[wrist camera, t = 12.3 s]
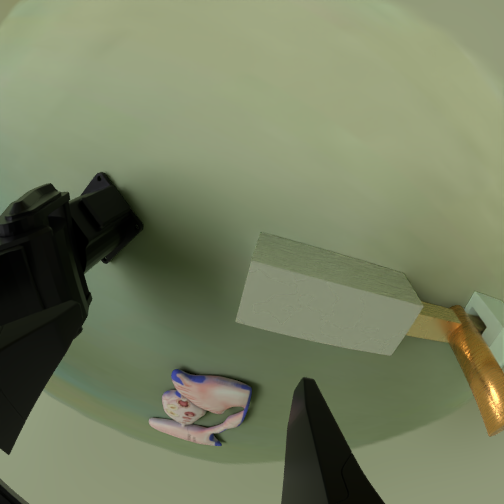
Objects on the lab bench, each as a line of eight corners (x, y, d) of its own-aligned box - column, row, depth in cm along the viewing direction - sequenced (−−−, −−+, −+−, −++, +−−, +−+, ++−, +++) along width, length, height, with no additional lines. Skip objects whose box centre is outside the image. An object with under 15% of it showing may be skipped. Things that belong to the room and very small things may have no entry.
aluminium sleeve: (246, 285, 23) (235, 321, 19) (260, 231, 21) (251, 260, 16) (378, 318, 23) (390, 355, 18) (403, 273, 20) (423, 306, 16)
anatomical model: (153, 418, 39) (237, 441, 38) (147, 431, 36) (234, 455, 35) (134, 344, 29) (256, 377, 28) (123, 360, 27) (252, 397, 26)
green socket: (445, 336, 23) (465, 376, 17) (474, 291, 20) (503, 327, 14) (474, 341, 22) (493, 377, 17) (501, 300, 20) (527, 333, 14)
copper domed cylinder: (330, 304, 21) (346, 454, 10) (344, 273, 20) (380, 426, 8) (479, 336, 21) (524, 425, 9) (493, 315, 20) (546, 402, 8)
